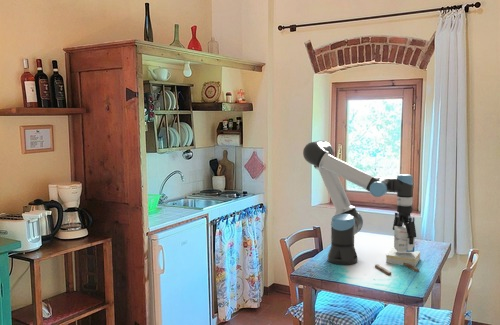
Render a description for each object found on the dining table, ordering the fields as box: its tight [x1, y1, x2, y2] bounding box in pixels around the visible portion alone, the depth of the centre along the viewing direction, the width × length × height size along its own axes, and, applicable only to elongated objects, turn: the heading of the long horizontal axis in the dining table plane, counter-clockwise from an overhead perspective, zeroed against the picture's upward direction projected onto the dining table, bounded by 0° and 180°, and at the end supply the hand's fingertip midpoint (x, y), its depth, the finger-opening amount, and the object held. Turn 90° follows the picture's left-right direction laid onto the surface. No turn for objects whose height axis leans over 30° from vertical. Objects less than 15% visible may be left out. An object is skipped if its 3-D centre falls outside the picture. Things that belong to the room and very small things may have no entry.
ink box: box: [393, 225, 416, 252], centre depth 236 cm, size 9×8×12 cm
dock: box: [385, 247, 421, 267], centre depth 237 cm, size 14×14×4 cm
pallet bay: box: [374, 263, 420, 276], centre depth 224 cm, size 12×16×1 cm
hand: (403, 247), depth 237 cm, fingers closed on ink box, 10 cm apart
